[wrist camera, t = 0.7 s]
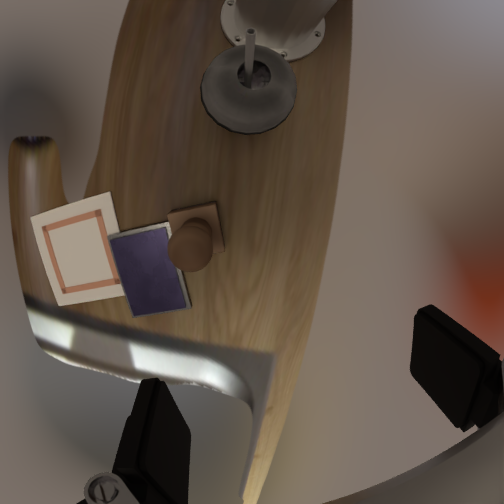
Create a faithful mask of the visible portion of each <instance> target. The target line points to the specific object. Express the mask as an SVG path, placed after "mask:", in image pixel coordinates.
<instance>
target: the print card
mask: <svg viewBox="0 0 504 504" xmlns="http://www.w3.org/2000/svg"><path fill="white" fill-rule="evenodd" d="M31 221H32V225H33V229H34V233H35V237H36V240H37V244H38V247H39V251H40V254H41V257H42V260H43V263H44V267H45V270H46V273H47V275H48V278H49V281H50V284H51V287H52V289H53V292H54V295H55V297H56V300H57V303H58V305H59V306H63V305H69V304H75V303H82V302H88V301H94V300H100V299H106V298H112V297H118V296H123V295H125V294H124V292H123V289H122V286H121V282H120V279H119V276H118V273H117V270H116V267H115V263H114V260H113V257H112V253H111V250H110V246H109V243H108V239H107V236H108V235H110V234H114V233H118V232H120V229H119V225H118V221H117V217H116V212H115V208H114V204H113V199H112V195H111V191H110V192H107V193H103V194H100V195H96V196H93V197H90V198H86V199H83V200H80V201H77V202H74V203H71V204H67V205H64V206H61V207H58V208H55V209H53V210H50V211H47V212H44V213H41V214H38V215H35V216H33V217H31Z"/></svg>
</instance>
